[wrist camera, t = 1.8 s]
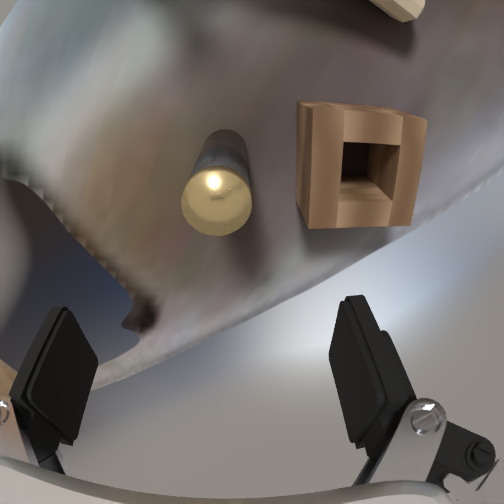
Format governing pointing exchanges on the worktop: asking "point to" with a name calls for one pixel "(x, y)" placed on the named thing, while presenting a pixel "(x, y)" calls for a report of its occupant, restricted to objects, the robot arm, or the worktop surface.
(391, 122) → the socket block
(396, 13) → the hammer
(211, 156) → the dark grey capped cylinder
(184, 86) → the worktop surface
